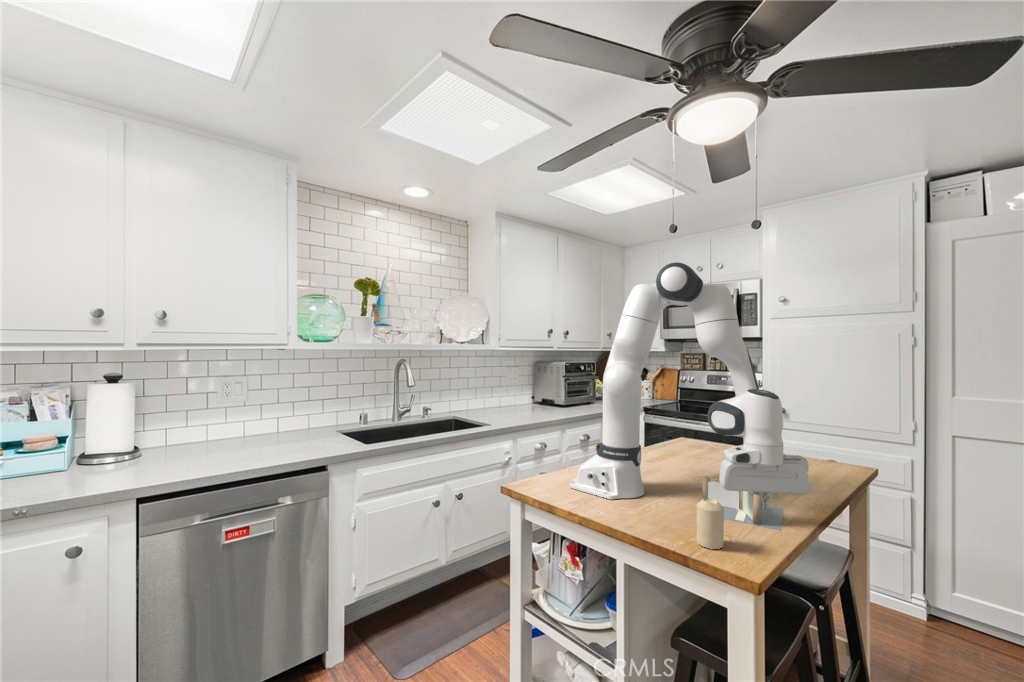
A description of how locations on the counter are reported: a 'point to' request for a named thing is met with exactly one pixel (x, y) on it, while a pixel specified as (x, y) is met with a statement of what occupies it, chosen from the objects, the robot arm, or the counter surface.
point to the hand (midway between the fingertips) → (763, 509)
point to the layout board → (768, 517)
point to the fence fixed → (721, 494)
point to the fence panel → (752, 506)
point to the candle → (710, 523)
